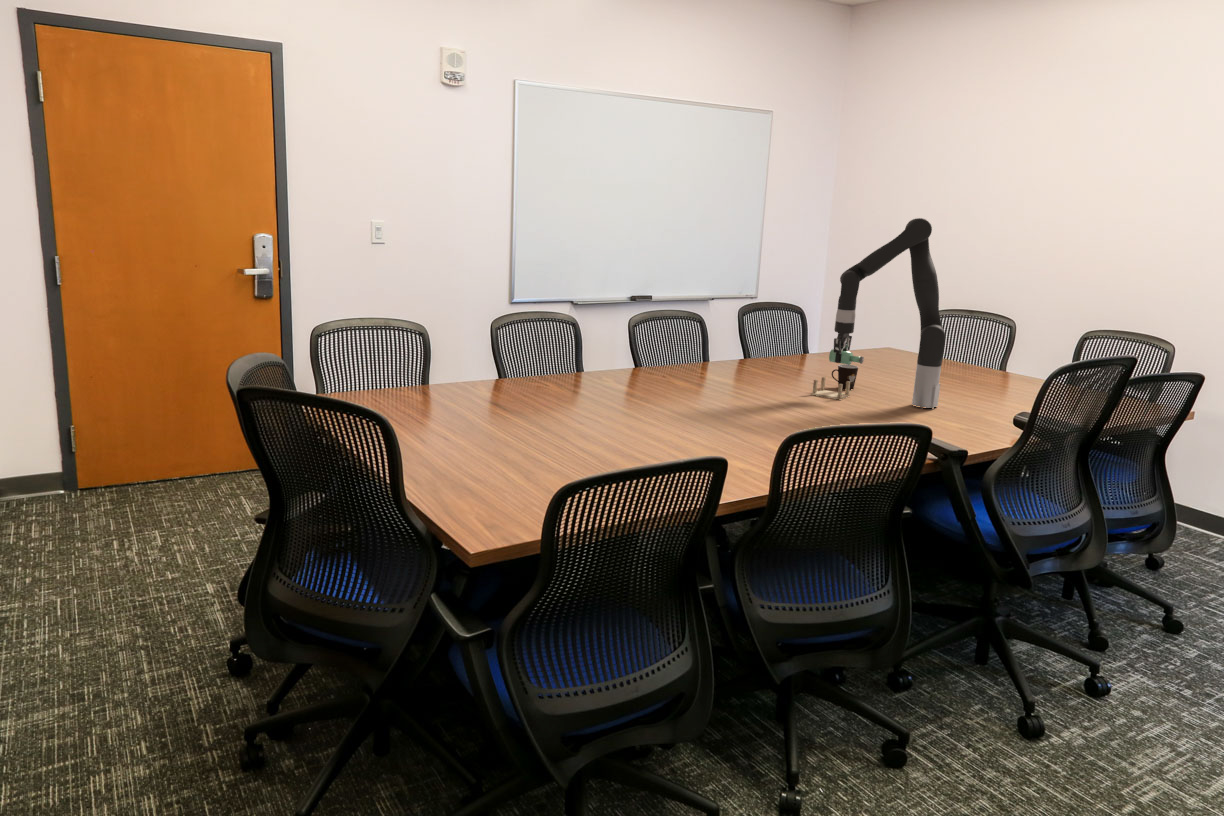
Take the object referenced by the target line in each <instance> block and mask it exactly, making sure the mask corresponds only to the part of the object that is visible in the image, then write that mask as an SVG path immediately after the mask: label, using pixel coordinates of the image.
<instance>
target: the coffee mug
mask: <svg viewBox="0 0 1224 816" xmlns="http://www.w3.org/2000/svg"><path fill="white" fill-rule="evenodd" d="M837 368H838V369H836V368H835V369H833V370H832V371H831V378H832V379H834V381H836V382H837V385H838V387H839V384H843V387H842V389H846V381H850V389H849V391H852V390H851V389H853V390H854V389H855V384H856V380H857V375H858V371H859V366H858V365H854V364H850V365H848V364H841V363H840V364H838V365H837ZM836 371H837V379H836V377H835V376H834V372H836ZM838 387H837V388H838Z"/></svg>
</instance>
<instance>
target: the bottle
mask: <svg viewBox="0 0 1224 816" xmlns="http://www.w3.org/2000/svg"><path fill="white" fill-rule="evenodd" d="M835 357H836V353H835V352H834V348H832V349H831V350H830V352H829V355H828V361H829V363H835ZM864 358H865V357H864V356H858V355H857V356H856V355H854V354H853V352H852V351H849V350H848V351H842V356H841V363H840V365H841V364H847V365H852V363H853V362H854V363H859V364H861V365H862V364H863V363H864V360H865V359H864Z"/></svg>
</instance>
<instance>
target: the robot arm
mask: <svg viewBox="0 0 1224 816" xmlns="http://www.w3.org/2000/svg"><path fill="white" fill-rule="evenodd" d="M932 232H933V226H932V224H931V222H930V221H929V220H927V218H922V217H920V218H919V217H916V218H913V219H911V220H909V221H908V223H907V224H906V226H905V229H904V230H903V231H901V233H900V234H898V235H897V236H896V237H894V238H893V239H892V240H890V241H889V242H887V243H886V244H884V245H882V246H880V247H878V248H877V249H876V250H874V251H873V252H871V253H869V254H868V255H867V256H866V257H864V258H863V259H861V261H859V262H858V263H856V264H854V265H852V266H851V267H849V268H848V269H846V270H845V271H844V272H842V274H841V275H840V279H839V281H840V284H841V285H840V295H839V296H838V302H837V310H836V314H835V323H834V332H835V333H837V337H835V338H834V339H833V349H834V352H835V353H836V357H835V362H834V363H835V364H841V356H842V351H848V352H849V351H850V349H851V344H852V341H853V336H852V335H850V334H853V333H854V331H855V321H856V308H857V297H858V293H859V288H860V283H861V281H862V280H864V279H865V278H867V277H869V276H872V275H873V274H875V273H877V272H878V271H879V270H881V269H882V268H883V267H885V266H886V265H887V264H889V263H890V262H891V261H893V260H894V259H895V258H896V257H898V256H899V255H901V254H902V253H903V252H906V251H907V250H909V254H910V266H911V267H910V269H911V279H912V280H911V281H912V289H913V292H914V297H915V301H916V305H917V308H918V311H919V312H918V313H919V319H920V339H919V347H918V354H917V355H918V356H917V361H916V370H915V376H914V377H915V378H914V383H913V384H914V386H913V392H912V400H911V405H912V404H913V405H916V406H920V407H926V408H934V407H936V406H938V405H939V399H940V390H941V383H940V378H941V371H942V363H943V360H944V352H945V345H946V339H947V338H946V332H945V330H944V328H943V327H944V326H943V325H942V318H941V316H940V309H939V308H940V307H939V306H940V295H939V294H940V290H939V281H938V274H937V270H936V268H935V267H936V266H935V265H934V264H935V263H934V261H933V258H932V255H931V252H930V241H929V238H930V237H931V235H932Z"/></svg>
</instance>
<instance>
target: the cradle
mask: <svg viewBox="0 0 1224 816" xmlns="http://www.w3.org/2000/svg"><path fill="white" fill-rule="evenodd" d="M818 382H819V381H818V379H813V383H812V384H813V386H812V391H811V394H810V396H813V395H816V396H815V397H819V396H821V397H820V398H824V397H828V398H827V399H830V398H834V399H833V400H836V399H843V398H845V399H847V398H846V397H848V396H851V394H850V390H849V389H850V381H846V390H844V392H845V393H844V392H843V390H842V387H843V384H839V387H837V388H838V389H837V391H834V390H833V391H832V390H827V389H825V387H826V386H825V385H826V377H825V376H821V381H820V382H821V383H820V389H819V390H818ZM848 398H849V397H848ZM843 400H844V399H843Z"/></svg>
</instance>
